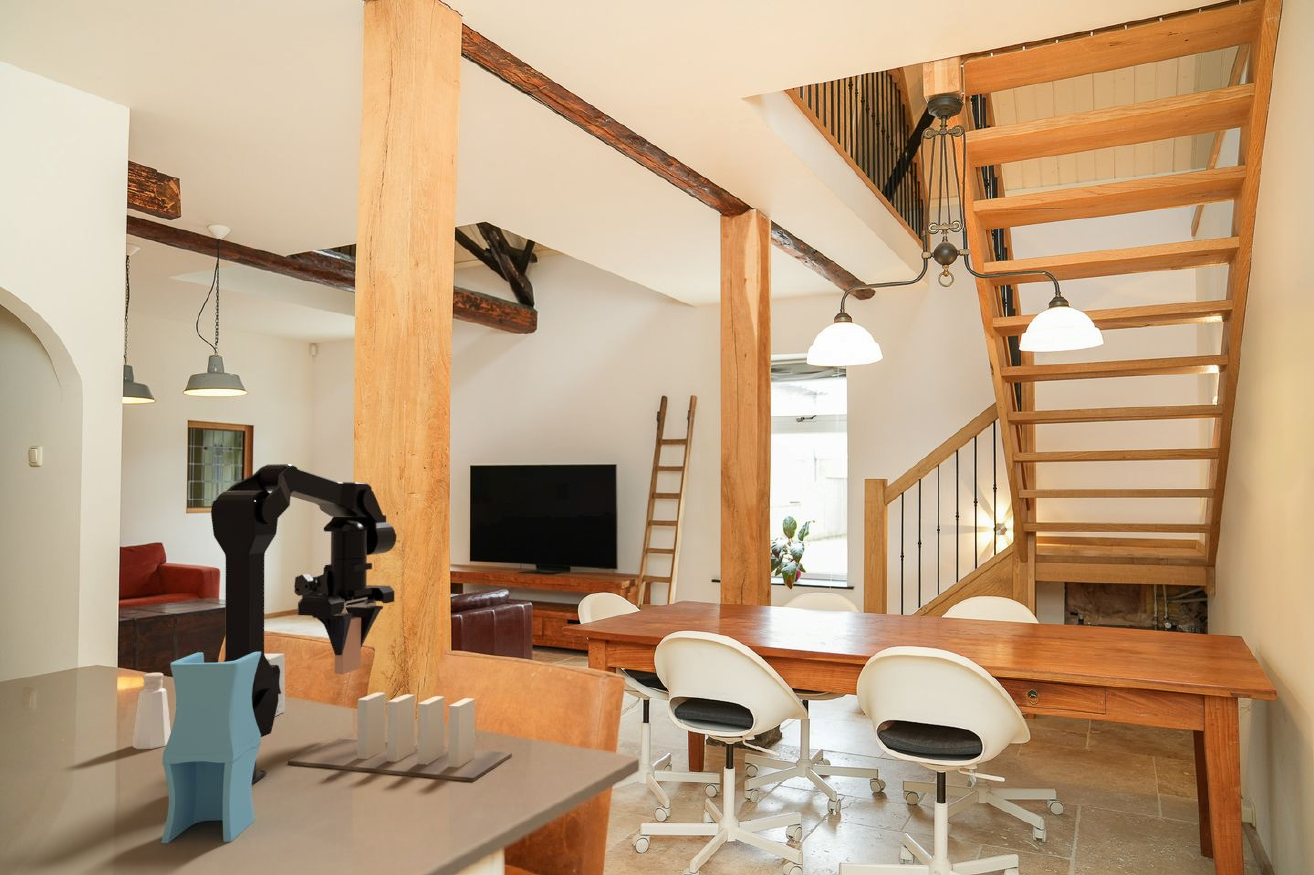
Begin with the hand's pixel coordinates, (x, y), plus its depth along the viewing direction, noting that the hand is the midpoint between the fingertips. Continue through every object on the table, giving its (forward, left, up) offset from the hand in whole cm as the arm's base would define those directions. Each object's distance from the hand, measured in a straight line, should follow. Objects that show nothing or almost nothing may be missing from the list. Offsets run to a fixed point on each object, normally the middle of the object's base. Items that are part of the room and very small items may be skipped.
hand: (347, 652), depth 150 cm
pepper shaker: (-8, +28, -13) cm, 32 cm away
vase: (-43, 0, -13) cm, 45 cm away
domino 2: (-16, -14, -12) cm, 25 cm away
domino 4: (-19, -24, -12) cm, 33 cm away
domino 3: (-17, -19, -12) cm, 28 cm away
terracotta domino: (0, 0, -3) cm, 3 cm away
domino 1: (-15, -9, -12) cm, 21 cm away
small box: (+10, +20, -13) cm, 26 cm away
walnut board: (-16, -14, -13) cm, 25 cm away
